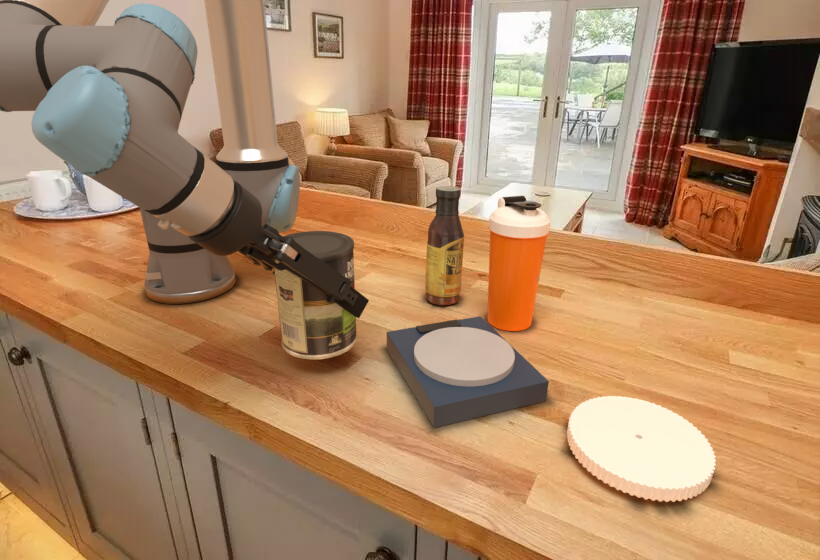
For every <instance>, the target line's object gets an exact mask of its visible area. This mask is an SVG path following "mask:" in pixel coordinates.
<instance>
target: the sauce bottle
mask: <svg viewBox="0 0 820 560" xmlns="http://www.w3.org/2000/svg"><path fill="white" fill-rule="evenodd" d="M435 198H436V204H435V205H436V206H435V216H434V218H433V219H432V220H431V222H430V223H429V225H428V230H427V241H426V256H425V257H426V259H425V260H426V261H425V282H424V283H425V285H424V290H425V298H426V301H427V302H429V303H430V304H433V305H436V306H451V305H454V304H456V303H458V301H459V300H460V294H461V291H462V276H463V274H462V273H463V263H464V262H463V260H464V245H465V234H464V230H463V225H462V222H461V218H460V216H459V213H460V212H459V205H460V198H461V188H459V187H458V186H454V185H453V186H452V185H451V186H450V185H442V186H437V187H435Z"/></svg>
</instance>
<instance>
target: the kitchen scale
mask: <svg viewBox="0 0 820 560" xmlns="http://www.w3.org/2000/svg"><path fill="white" fill-rule="evenodd" d="M386 351H387V353H388V354H389V356H390V357H391V359H392V361H393V363H394V364H395V366H396V368H397V369H398V372H400V374H401V376H402V378H403V379H404V381H405V383H406V385H407V386H408V387H409V389H410V391H411V392H412V395H413V396H414V398H415V399H416V401H417V403H418V404H419V406H420V408H421V409H422V411H423V413H424V415H425V417H426V418H427V419H428V421H429V423H430V425H431V426H432V428H433V429H437V428H439V427H444V426H448V425H453V424H457V423H461V422H465V421H469V420H470V421H471V420H473V419H477V418H481V417H486V416H490V415H494V414H499V413H502V412H508V411H510V410H516V409H520V408H523V407H528V406H532V405H536V404H540V403H544V402H547V397H548V390H549V385H550V384H549V383H550V381H549V380H548V379H547V378H546V377H545V376H544V374H542V373H541V372H540V371H539V370H538V369H536V367H534V365H532V364H531V363H530V362H529V360H527V359H526V358H525V357H524V356H523V355H522V354H521V353H520V352H519V351H518V350H517V349H516V348H514V347H513V346H512V344H510V343H509V342H508V341H507V340H506V338H504V337H503V336H502V335H501V334H500V333H498V332H497V331H496V329H494V328H493V326H492V325H491V324H490V323H489V322H488V321H486V320H485V319H484V318H483V317H482V316H481V315H480V316H474V317H473V316H472V317H467V318H461V319H452V320H451V319H450V320H445V321H438V322H434V323H427V324H421V325H416V326H413V327H407V328H402V329H395V330H389V331H386Z"/></svg>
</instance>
